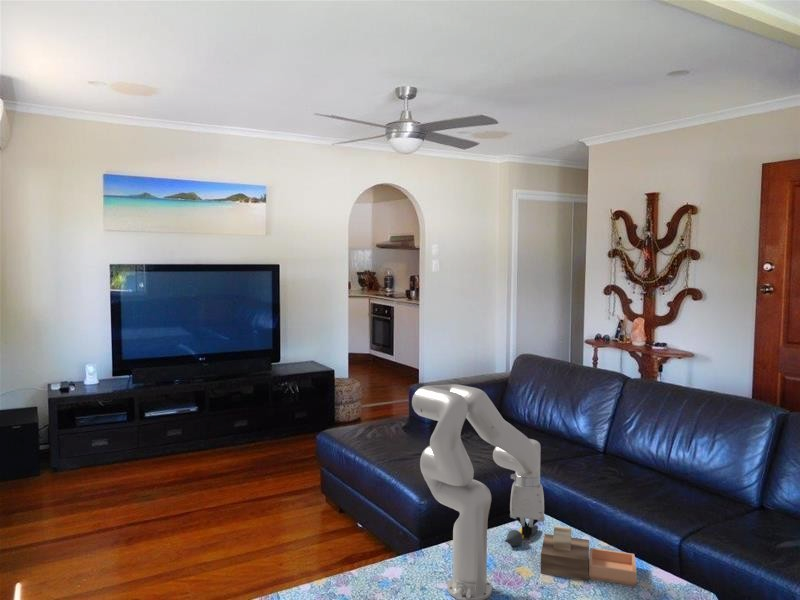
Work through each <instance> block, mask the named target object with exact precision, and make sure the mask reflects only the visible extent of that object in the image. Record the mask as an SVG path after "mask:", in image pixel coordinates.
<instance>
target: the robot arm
mask: <svg viewBox="0 0 800 600" xmlns="http://www.w3.org/2000/svg"><path fill="white" fill-rule="evenodd" d="M411 407H412V409H413V411H414V413H416V414H417V415H418V416H419V417H422V418H426V419H430V420H432V421H437V423H436V426H435V428H434V430H433V432H432V434H431V436H430V439H429V445H428V446H427V447H425V449H424V450H422V453H421V456H420V459H419V460H420V461H419V466H420V472H421V474H422V476H423V479H424V481H425V482H426V484H427V487H428V488H429V490H430V492H431V494H432V496H433V497H434V499H435V500H436V501H437V502H438V503H440V504H441V505H442V506H446V507H448V508H449V509H453V510H454V511H456V512H458V513H459V515H458V518H457V519H456V520H455V522H454V523H453V528H452V529H453V530H452V578H450V579H449V580H448V582H447V585H446V586H447V592H448V593H449V595H451V596H452V597H453V598H454V599H456V600H486V599H489V598H490V596H491V595H492V593H493V586H492V584H491V582H490V581H489V580H488V579H487V577H488V575H487V574H488V573H487V572H488V570H487V568H488V519H489V515H490V509H491V503H492V494H491V491H490V489H489V487H487V485H485V484H484V482H483V483H482V482H481V481H479V480H476V479H474V473H475V472H474V471H475V470H474V466H473V464H472V461H471V458H470V457H469V455H468V452H467V450H466V448H465V445H464V443H463V441H462V437H461V432H462V429H463V426H464V423H465V421H466V420H467V421H468V422H469V424H470V425H471V427H473V429H474V430H475V432H476V433H477V434H478V436H479V437H480V438H481V439H482V440H484V441H485V442H486V443H488V444H490V445H492V446H494V449H493V452H492V459H493V462H494V463H495V464H496V465H497V466H499V467H501V468H504V469H507V470H511V471H514V472H515V473H512V474H510V479H511V480H514V481H513V483H512V486H511V491H510V492H511V493H510V502H509V511H510V513H509V518H511V519H514V520H517V521H518V523H519V525H520V526H521V528H522V535H524V539H523V540H527V541H528V540H530V538H531V537H532V536H533V535H532V526H533V525H537V523H542V522H545V521H546V517H545V497H544V496H545V495H544V494H545V493H544V489H543V488H544V487H543V485H542V483H541V449H542V448H541V443H540V442H539V441H538V440H536V439H533V438H529V437H527V435H525V434H524V433H522V432H521V431H520V430H518V429H517V428H516V427H515V426H513V425H512V424H511V423H509V422H508V421H506V420H505V419H504V418H503V416H502V414H501V413H500V412H499V411H498V409H497V407H496V406H495V404H494V402H493V401H492V400H491V399H490V397H489V396H488V395H487V393H486V392H485V391H484V390H482V389H480V388H477V387H474V386H468V385H463V384H457V383H456V384H454V383H453V384H452V383H451V384H435V385H423V386H421V387H419V388H417V390H415V392H414V394H413V395H412V398H411ZM526 519H528V523H527V520H526ZM530 536H531V537H530ZM526 538H527V539H526Z"/></svg>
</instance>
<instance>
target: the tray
mask: <svg viewBox="0 0 800 600" xmlns="http://www.w3.org/2000/svg"><path fill="white" fill-rule="evenodd" d="M636 562H637V561H636V557H635V553H632V552H631V553H630V552H622V551H617V550H609V549H601V548H594V547H589V571H588V580H593V581H598V582H606V583H612V584H618V585H626V586H631V587H637V583H638V576H637V575H638V573H637V564H636Z"/></svg>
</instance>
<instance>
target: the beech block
mask: <svg viewBox="0 0 800 600" xmlns="http://www.w3.org/2000/svg"><path fill="white" fill-rule="evenodd" d="M552 535H553V549H560V550H567V551H570V550H571V537H572V527H568V526H558V525H554V527H553V533H552Z"/></svg>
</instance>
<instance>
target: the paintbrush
mask: <svg viewBox="0 0 800 600" xmlns="http://www.w3.org/2000/svg"><path fill="white" fill-rule="evenodd" d="M538 529H539V527H538V525H537V524H534V525H533V526H532V536H534V535H535V534H536V532H538ZM506 535H507V536H506V539H504V542H505V543H507V544H509V545H510V546H512V547H518V546H520V545H521V544H522V543H523V542H522V541H523V540H527V538H526V539H524V535H522V527H521V528H520V529H519V530H516V529H511V530H509V531H508V533H507V534H506ZM532 536H530V538H531V537H532Z"/></svg>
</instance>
